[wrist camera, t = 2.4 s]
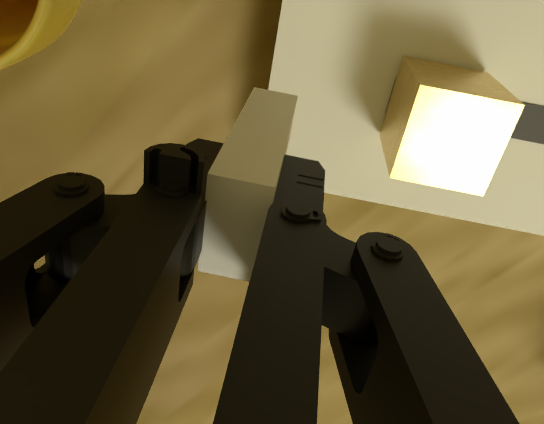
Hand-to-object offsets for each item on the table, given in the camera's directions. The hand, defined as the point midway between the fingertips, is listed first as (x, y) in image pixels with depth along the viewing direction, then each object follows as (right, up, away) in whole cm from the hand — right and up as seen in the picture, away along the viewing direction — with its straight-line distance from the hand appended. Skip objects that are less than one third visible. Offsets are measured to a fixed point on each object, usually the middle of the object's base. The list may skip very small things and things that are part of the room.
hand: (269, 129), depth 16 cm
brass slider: (+8, +2, +7) cm, 11 cm away
